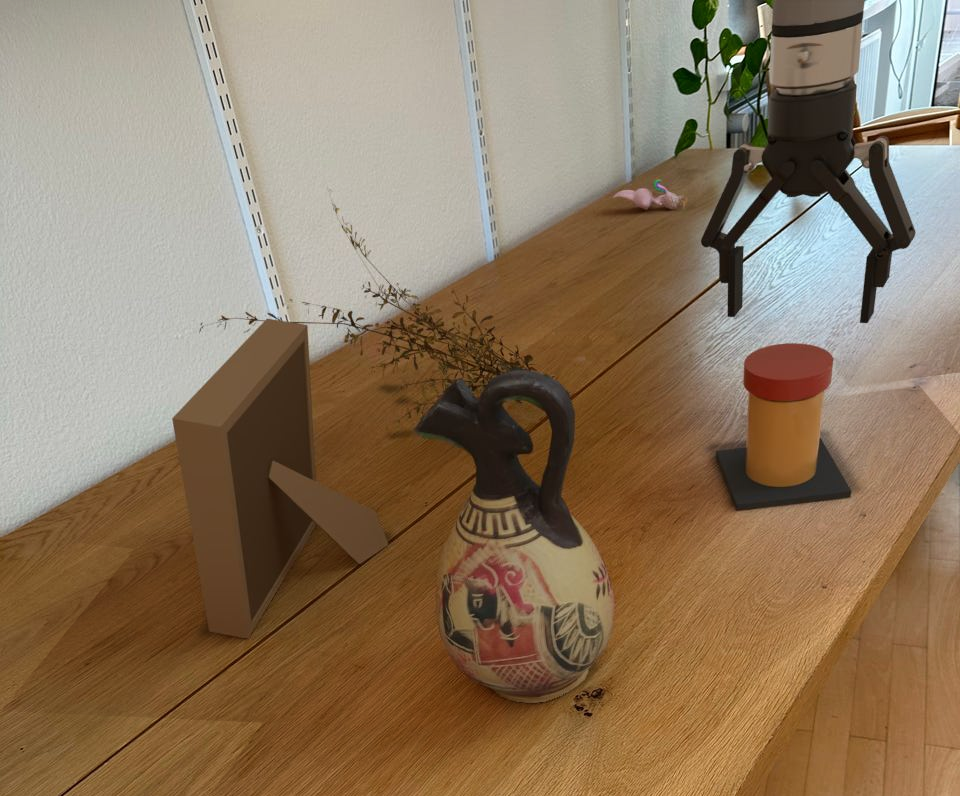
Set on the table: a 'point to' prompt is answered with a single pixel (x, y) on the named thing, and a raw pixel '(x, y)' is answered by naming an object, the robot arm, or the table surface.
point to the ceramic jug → (517, 549)
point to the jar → (783, 440)
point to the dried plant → (426, 341)
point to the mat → (756, 495)
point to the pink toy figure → (646, 199)
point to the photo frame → (259, 478)
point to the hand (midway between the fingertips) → (798, 315)
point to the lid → (788, 371)
